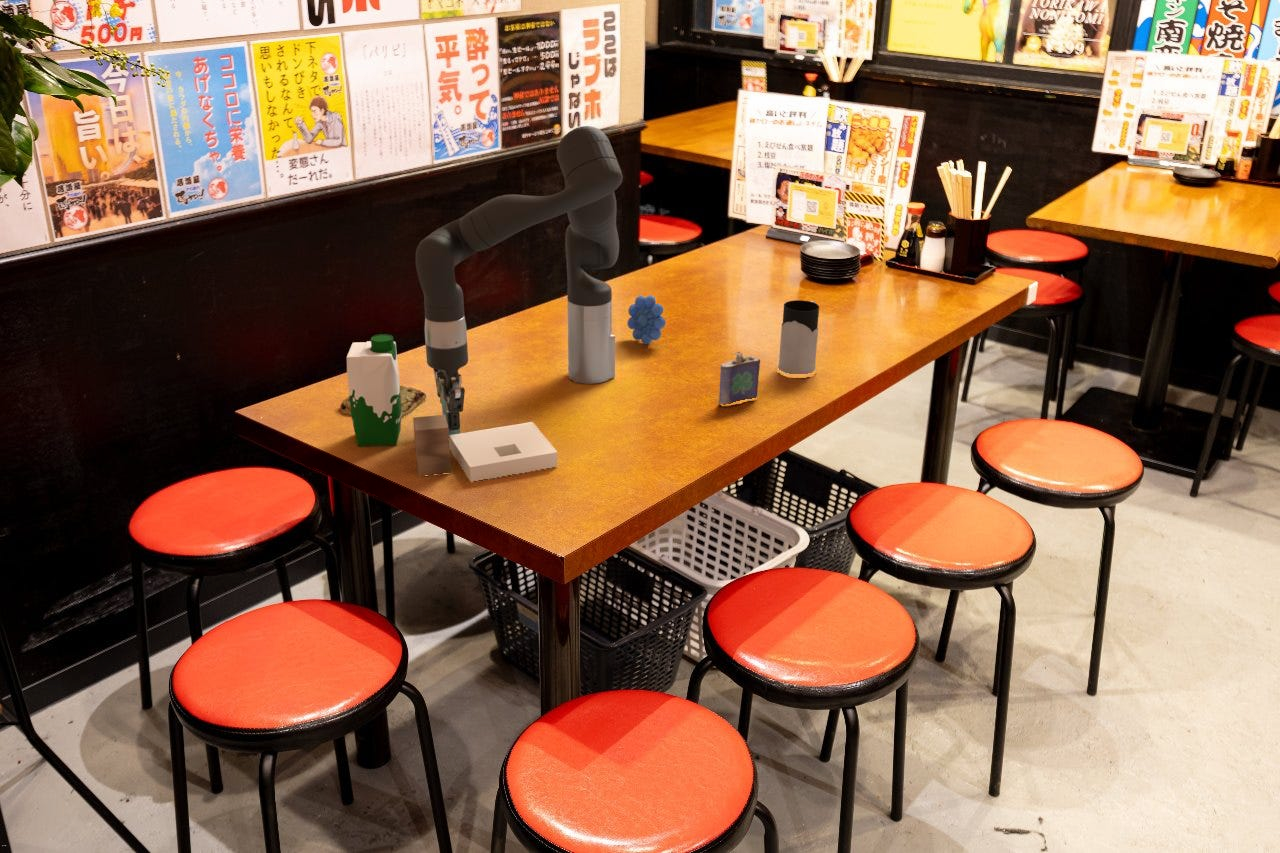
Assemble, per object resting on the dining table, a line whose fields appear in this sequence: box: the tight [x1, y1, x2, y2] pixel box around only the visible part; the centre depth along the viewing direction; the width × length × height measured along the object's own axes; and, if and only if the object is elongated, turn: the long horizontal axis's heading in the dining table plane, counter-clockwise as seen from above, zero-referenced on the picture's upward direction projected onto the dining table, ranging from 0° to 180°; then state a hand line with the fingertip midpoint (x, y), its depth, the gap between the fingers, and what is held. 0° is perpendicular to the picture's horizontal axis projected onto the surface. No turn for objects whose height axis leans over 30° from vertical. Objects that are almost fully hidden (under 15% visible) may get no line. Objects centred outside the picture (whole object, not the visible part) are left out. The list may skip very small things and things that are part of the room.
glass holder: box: [777, 299, 820, 374], centre depth 244 cm, size 9×14×15 cm, turn 155°
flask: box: [718, 351, 761, 405], centre depth 227 cm, size 9×3×11 cm, turn 121°
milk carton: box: [346, 333, 402, 447], centre depth 207 cm, size 9×9×20 cm
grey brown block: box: [412, 414, 452, 477], centre depth 198 cm, size 6×6×9 cm
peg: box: [441, 391, 461, 435], centre depth 211 cm, size 3×3×9 cm
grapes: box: [627, 294, 666, 345], centre depth 257 cm, size 12×7×12 cm, turn 44°
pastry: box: [339, 385, 427, 419], centre depth 225 cm, size 17×17×3 cm
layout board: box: [449, 421, 559, 482], centre depth 203 cm, size 16×14×3 cm
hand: (451, 425), depth 212 cm, fingers closed on peg, 3 cm apart
